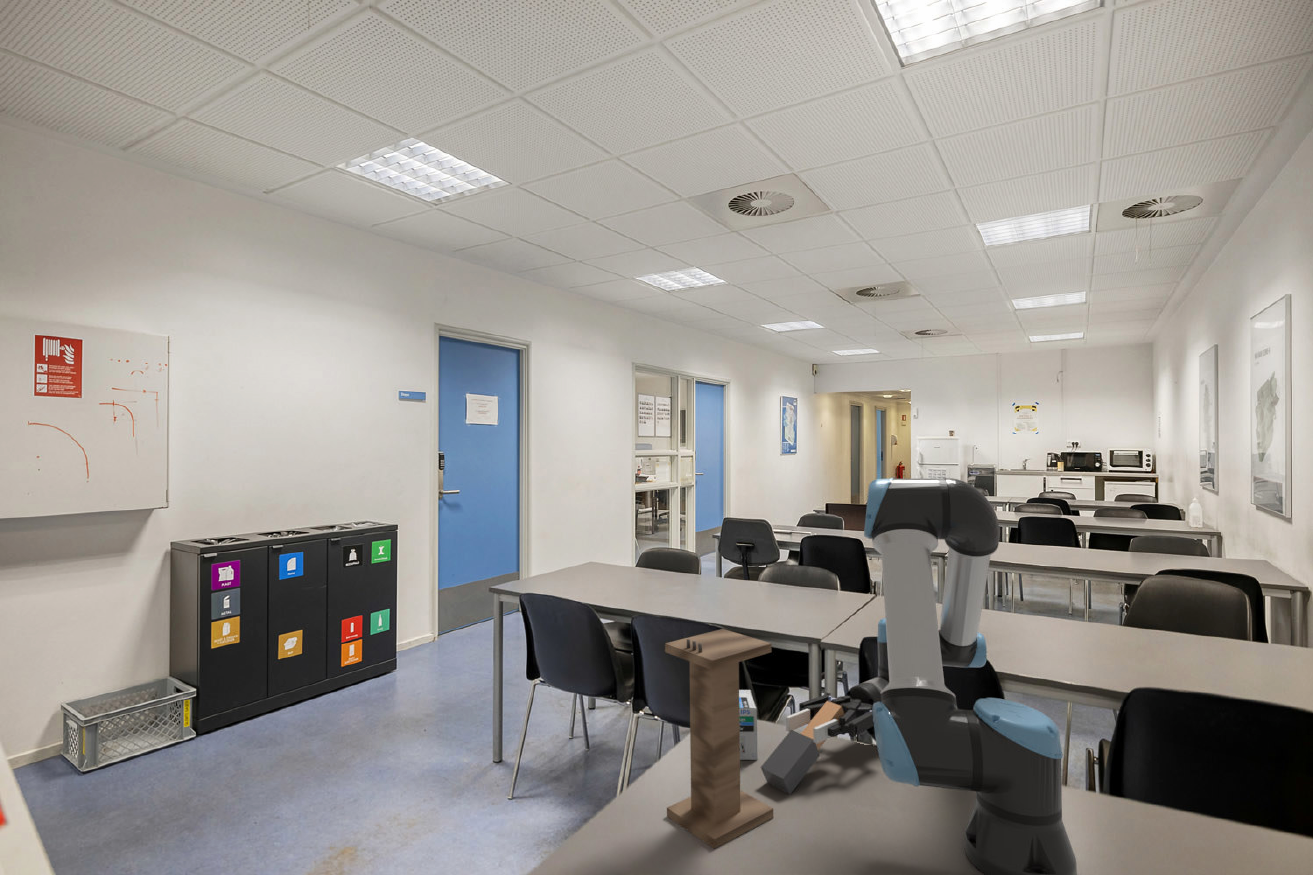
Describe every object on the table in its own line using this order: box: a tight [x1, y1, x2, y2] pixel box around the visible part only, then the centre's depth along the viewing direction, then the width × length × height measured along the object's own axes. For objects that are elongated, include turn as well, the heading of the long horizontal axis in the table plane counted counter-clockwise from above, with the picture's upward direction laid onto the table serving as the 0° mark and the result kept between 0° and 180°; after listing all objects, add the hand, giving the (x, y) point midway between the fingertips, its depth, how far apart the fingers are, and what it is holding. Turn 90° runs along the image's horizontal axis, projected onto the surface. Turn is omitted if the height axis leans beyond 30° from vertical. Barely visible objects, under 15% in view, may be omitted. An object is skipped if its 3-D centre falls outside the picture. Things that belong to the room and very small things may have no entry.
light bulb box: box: [739, 689, 759, 761], centre depth 141 cm, size 11×7×11 cm, turn 179°
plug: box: [760, 701, 845, 795], centre depth 130 cm, size 6×20×4 cm, turn 128°
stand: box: [664, 628, 774, 849], centre depth 116 cm, size 12×14×31 cm
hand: (801, 729), depth 129 cm, fingers open, 6 cm apart
